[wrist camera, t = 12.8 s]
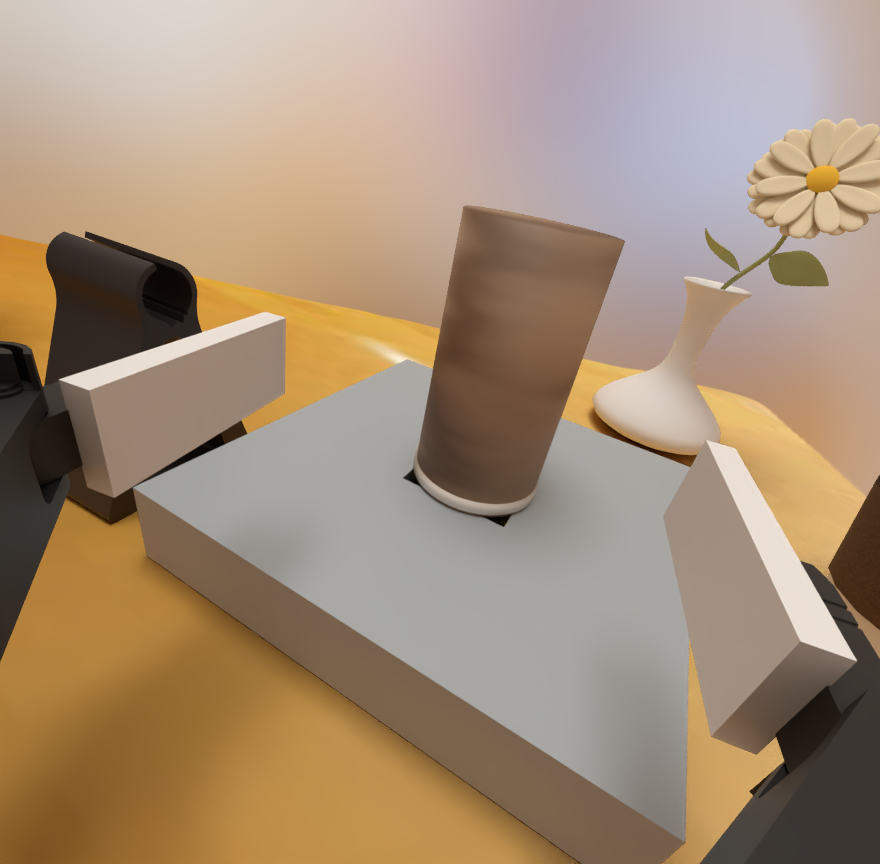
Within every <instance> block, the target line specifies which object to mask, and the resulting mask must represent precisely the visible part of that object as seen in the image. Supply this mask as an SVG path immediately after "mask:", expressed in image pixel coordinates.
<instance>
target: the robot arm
mask: <svg viewBox="0 0 880 864" xmlns="http://www.w3.org/2000/svg"><path fill="white" fill-rule="evenodd" d="M285 333H286V318H285V317H281V316H278V315H274V314H271V313H267V312H263V313H260V314H257V315H254V316H251V317H248V318H245V319H242V320H239V321H236V322H233V323H229V324H226V325H223V326H220V327H217V328H214V329H211V330H208V331H205V332H202V333H199V334H196V335H193V336H190V337H187V338H184V339H181V340H178V341H175V342H172V343H169V344H165V345H162V346H159V347H156V348H153V349H150V350H147V351H144V352H141V353H138V354H135V355H132V356H129V357H126V358H123V359H120V360H117V361H114V362H111V363H108V364H105V365H101V366H98V367H95V368H92V369H89V370H86V371H83V372H80V373H77V374H74V375H71V376H68V377H65V378H62V379H59V381H58V382H55V383H52V384H49V385H46V386H43V387H42V384H41V380H40V377H39V373H38V370H37V366H36V363H35V360H34V356H33V353H32V349H30V348H29V347H28V346H26V345H23V344H19V343H15V342H4V341H0V661H1V659H2V656H3V654H4V651H5V649H6V646H7V644H8V641H9V639H10V636H11V634H12V631H13V629H14V626H15V624H16V621H17V619H18V616H19V614H20V611H21V609H22V606H23V604H24V601H25V599H26V596H27V594H28V591H29V589H30V586H31V584H32V581H33V579H34V576H35V574H36V571H37V569H38V566H39V564H40V561H41V559H42V556H43V554H44V551H45V549H46V546H47V544H48V541H49V539H50V536H51V534H52V531H53V529H54V526H55V524H56V521H57V519H58V516H59V514H60V511H61V509H62V506H63V504H64V501H65V499H66V496H67V494H68V491H69V489H70V480H69V477H68V473H69V472H71V471H73V470H75V469H77V468H79V467H81V466H82V469H83V473H84V476H85V480H86V484H87V487H88V488H90V489H93V490H95V491H98V492H100V493H103V494H105V495H108V496H111V497H113V498H115V497H117V496H118V495H120V494H122V493H123V492H125V491H126V490H128V489H130V488H131V487H133V486H135V485H136V484H138V483H140V482H141V481H143V480H144V479H146V478H148V477H149V476H151V475H153V474H154V473H156V472H157V471H159V470H161V469H162V468H164V467H166V466H167V465H169V464H171V463H172V462H174V461H175V460H177V459H179V458H180V457H182V456H184V455H185V454H187V453H189V452H190V451H192V450H193V449H195V448H197V447H198V446H200V445H202V444H203V443H205V442H206V441H208V440H210V439H211V438H213V437H215V436H216V435H218V434H220V433H221V432H223V431H224V430H226V429H228V428H229V427H231V426H233V425H234V424H236V423H238V422H239V421H241V420H242V419H244V418H246V417H247V416H249V415H251V414H252V413H254V412H255V411H257V410H259V409H260V408H262V407H264V406H265V405H267V404H269V403H270V402H272V401H273V400H275V399H277V398H278V397H280V396H282V395H283V394H285ZM663 518H664V522H665V527H666V532H667V536H668V541H669V545H670V550H671V555H672V559H673V564H674V568H675V573H676V578H677V582H678V587H679V591H680V596H681V601H682V605H683V610H684V614H685V619H686V624H687V628H688V633H689V637H690V642H691V647H692V651H693V656H694V660H695V665H696V670H697V674H698V679H699V683H700V688H701V693H702V697H703V702H704V706H705V711H706V716H707V720H708V725H709V729H710V734H711V737H713V738H716V739H718V740H721V741H723V742H726V743H728V744H731V745H733V746H736V747H738V748H741V749H743V750H746V751H748V752H751V753H753V754H756V755H757V754H758V753H759V752H760V751H761V750H762V749H763V748H764V747H765V746H766V745H768V744H769V743H770V742H771V741H772V740H773V739H774V738H775V737H777V740H778V743H779V746H780V749H781V752H782V755H783V758H784V762H783V763H782V764H781V765H779V766H778V767H777V768H776V769H775V770H774V771H773V772H771V773H770V774H769V775H768V776H767V777H766V778H764V779H763V780H762V781H761V782H760V783H759V784H757V785H756V786H755V787H754V788H753V789H752V790H750V791H749V792H750V793H751V794H752V795H753V797H752V798H751V800H750V801H749V802H748V803H747V805H746V806H745V807H744V808H743V810H742V811H741V812H740V814H739V815H738V816H737V817H736V819H735V820H734V821H733V822H732V824H731V825H730V826H729V827H728V829H727V830H726V831H725V833H724V834H723V835H722V836H721V838H720V839H719V840H718V841H717V843H716V844H715V845H714V846H713V848H712V849H711V850H710V851H709V853H708V854H707V855H706V857H705V858H704V859H703V860H702V862H701V863H700V864H880V658H879V656H878V655H877V653H876V652H875V650H874V648H873V647H872V645H871V644H870V642H869V640H868V639H867V637H866V636H865V634H864V632H863V631H862V629H859V628H858V625H859V624H858V623H857V621H856V620H855V618H854V616H853V615H852V613H851V612H850V611H848V610H847V608H848V607H847V605H846V604H845V602H844V600H843V599H842V597H841V596H840V594H839V592H838V591H837V589H836V588H835V586H834V585H833V584H832V583H831V582H830V581H829V580H828V579H827V578H826V577H825V576H824V575H823V574H822V573H821V572H820V571H818V570H817V569H816V568H815V567H814V566H813V565H811V564H808V563H805V562H802V561H800V560H799V559H798V557H797V555H796V553H795V552H794V550H793V548H792V546H791V545H790V543H789V541H788V539H787V538H786V536H785V534H784V532H783V531H782V529H781V527H780V526H779V524H778V522H777V520H776V519H775V517H774V515H773V513H772V512H771V510H770V508H769V506H768V505H767V503H766V501H765V499H764V498H763V496H762V494H761V492H760V491H759V489H758V487H757V485H756V484H755V482H754V480H753V478H752V477H751V475H750V473H749V471H748V470H747V468H746V466H745V464H744V463H743V461H742V459H741V457H740V456H739V454H738V452H737V450H736V449H735V448H732V447H729V446H725V445H722V444H718V443H715V442H711V441H708V440H706V441H705V443H704V444H703V446H702V448H701V450H700V451H699V453H698V455H697V457H696V459H695V460H694V462H693V464H692V466H691V467H690V469H689V471H688V473H687V474H686V476H685V478H684V480H683V482H682V483H681V485H680V487H679V489H678V490H677V492H676V494H675V496H674V497H673V499H672V501H671V503H670V505H669V506H668V508H667V510H666V512H665V513H664V515H663Z"/></svg>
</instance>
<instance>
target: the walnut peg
mask: <svg viewBox="0 0 880 864" xmlns="http://www.w3.org/2000/svg"><path fill="white" fill-rule="evenodd" d="M624 243H625V241H624V240H622V239H619V238H617V237H613V236H610V235H607V234H604V233H600V232H596V231H593V230H589V229H585V228H581V227H577V226H573V225H569V224H564V223H560V222H556V221H551V220H547V219H542V218H537V217H533V216H528V215H523V214H518V213H513V212H508V211H502V210H496V209H491V208H484V207H477V206H464V207H463V212H462V218H461V223H460V228H459V233H458V239H457V244H456V249H455V255H454V261H453V265H452V271H451V276H450V281H449V287H448V292H447V298H446V303H445V308H444V313H443V319H442V325H441V329H440V335H439V340H438V345H437V351H436V356H435V361H434V367H433V372H432V377H431V383H430V388H429V393H428V398H427V404H426V409H425V414H424V420H423V425H422V430H421V436H420V441H419V445H418V447H417V449H416V452H415V457H414V463H413V469H414V473H415V476H416V478H417V480H418V482H419V484H420V485H421V487H422V488H423V489H424V490H425V491H426V492H427V493H428V494H429V495H430V496H431V497H432V498H434V499H435V500H436V501H438V502H440V503H441V504H443V505H445V506H447V507H449V508H451V509H454V510H456V511H459V512H462V513H466V514H469V515H475V516H481V517H484V518H486V519H488V520H490V521H492V522H494V523H496V524H498V523H499V520H500V517H502V516H507V515H511V514H514V513H517V512H519V511H520V510H522V509H523V508H525V507H526V506H528V505H529V504H530V503H531V501H532V500H533V498H534V496H535V493H536V491H537V488H538V484H539V476H540V474H541V471H542V468H543V465H544V463H545V460H546V457H547V454H548V452H549V449H550V446H551V443H552V441H553V438H554V435H555V432H556V430H557V427H558V424H559V421H560V419H561V416H562V413H563V410H564V408H565V405H566V402H567V399H568V397H569V394H570V391H571V388H572V386H573V383H574V380H575V377H576V375H577V372H578V369H579V366H580V364H581V361H582V358H583V355H584V353H585V350H586V347H587V344H588V342H589V339H590V336H591V333H592V330H593V328H594V325H595V322H596V320H597V317H598V314H599V311H600V309H601V306H602V303H603V300H604V297H605V295H606V292H607V289H608V287H609V284H610V281H611V278H612V276H613V273H614V270H615V268H616V265H617V262H618V259H619V257H620V254H621V251H622V248H623V246H624Z"/></svg>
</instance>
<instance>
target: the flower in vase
mask: <svg viewBox="0 0 880 864" xmlns="http://www.w3.org/2000/svg"><path fill="white" fill-rule="evenodd" d="M879 131H880V128H879V126H877V125H876V124H868V125H865V126H864V127H860V126H857V122H856V120H854V119H851V118H850V119H845V120H843V121H841V122H840V123H839V124H838V125H837V124H833V122H832V121H831V120H828V119H823V120H820V121H819V122H817V123H816V124H815V126H814V128H813V130H812V131H810V130H807V129H804V130H801V131H800V130H797V129H792V130H790V131H788V132H787V133H786V134H785V137H784V139H782V140H780V141H777V142H775V143H773V144H772V145H771V147H770V152H769V153H766V154H764V156H763V157H762V159H761V160H758V161H757V162H756V163H755V164H754V171H751V172H750V173H749V174H748V176H747V180H748V182H749V183H750V184H752V185H753V186H751V187H750V188H749V189H748V195H749V197H751V198H753V199H755V200H753V201H752V202H751V203H750V204H749V206H748V209H749V211H750V212H751V213H753V214H756V215H757V216H758V217H759V218H762V219H764V223H765V224H766V225H767V226H769V227H776V226H778V225H779V226H780V233H781V234H783V236H782V238H781V239H780V241H779V242H778V243H777V244H776V246H775V247H774V248H773V249H772V250H771V251H770V252H769V253H767V254H766V255H765V256H763V257H762V258H761V259H759V260H758V261H757V262H755V263H753V264H752V265H751V266H749V267H747V268H746V269H744V270H743V271H741V272H740V271H739V266H738V263H737V261H736V259H735V257H734V256H733V254H732V253H731V252H730V251H728V250H727V249H726V248H724V247H723V246H721V245H720V244H718V243H717V242H716V241H715V240H714V239H712V237H711V236H710V235H709V233H708V231H707V230H705V235H706V240H707V243H708V245H709V247H710V248H711V250H712V251H713V252H714V253H715V254H716V255H717V256H718V257H719V258H720V259H722V260H723V261H724V262H726V263H727V264H728V265H730V266H731V267H732V268H734V269H735V270H737V271H739V272H740V273H738V274H737V275H736V276H734V277H733V278H732V279H730V280H729V281H728V282H727V283H725V284H723V283H719V282H715V281H711V280H706V279H701V278H696V277H684V281H685V284H686V289H687V305H686V310H685V314H684V318H683V322H682V324H681V327H680V331H679V333H678V335H677V338H676V340H675V343H674V345H673V346H672V348H671V351H670V352H669V354H668V355H667V357H666V358H665V360H664V361H663V362H662V363H661V364H659V365H658V366H657V367H655V368H653V369H651V370H648V371H645V372H643V373H639V374H636V375H632V376H629V377H626V378H623V379H620V380H616V381H614V382H611V383H609V384H607V385H605V386H603V387H601V388H600V389H599V390H598V392H597V393H596V394H595V395H594V396H593V404H594V408H595V411H596V413H597V414H598V416H599V417H600V418H601V419H602V420H603V421H604V422H605V423H606V424H608V425H609V426H610V427H612V428H613V429H614V430H616V431H617V432H619V433H620V434H622V435H623V436H625V437H627V438H629V439H631V440H633V441H635V442H637V443H640V444H642V445H645V446H647V447H650V448H653V449H657V450H661V451H665V452H670V453H675V454H682V455H698V453H699V451H700V450H701V448H702V446H703V444H704V443H705V441H706V440H708V441H711V442H715V443H718V444H719V442H720V429H719V426H718V424H717V421H716V418H715V417H714V415H713V413H712V411H711V410H710V408H709V406H708V404H707V403H706V401H705V400H704V398H703V396H702V395H701V393H700V391H699V389H698V388H697V386H696V383H695V380H694V369H695V366H696V362H697V360H698V357H699V355H700V353H701V351H702V349H703V347H704V346H705V344H706V342H707V340H708V338H709V337H710V335H711V334H712V332H713V331H714V329H715V328H716V326H717V325H718V324H719V323H720V321H721V320H722V319H723V317H724V316H725V315H726V314H727V313H728V312H729V311H730V310H731V309H732V308H734V307H735V306H736V305H738V304H739V303H740V302H742V301H744V300H745V299H747V298H749V297H750V296H751V295H752V294H751V293H750V292H748V291H745V290H743V289H739V288H737V287H734V286H730V285H731V284H732V283H733V282H735V281H736V280H738V279H739V278H740V277H742V276H743V275H745V274H746V273H748V272H749V271H751V270H752V269H754V268H755V267H757V266H758V265H760V264H761V263H762V262H764V261H765V260H767V259H768V258H769V257H770V259H769V267H770V270H771V273H772V275H773V278H774V280H775V281H776V282H778V283H780V284H784V285H791V286H828V285H829V283H828V279H827V275H826V273H825V270H824V268H823V266H822V265H821V263H820V262H819V261H818V259H817V258H816V257H814V256H813V255H812V254H811V253H809V252H806V251H792V252H784V253H778V254H775V255H773V254H774V253H775V252H776V251H777V250H778V249H779V248H780V247H781V245H782V244H783V243H784V241H785V240H786V238H787V237H788V236H791V237H793V238H802V237H804V238H807V239H811V238H814V237H815V236H816V235H818V233H819V232H820V231H821V232H824V233H828V234H830V235H840V234H843V233H844V232H845V231H848V232H853V231H857V230H859V229H860V228H861V227H862V226H863V225H865V224H866V223H867V222H868V215H867V214H873V213H874V214H875V213H878V212H880V136H879V135H878V134H879ZM866 213H867V214H866ZM772 255H773V256H772Z"/></svg>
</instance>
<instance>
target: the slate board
mask: <svg viewBox="0 0 880 864" xmlns="http://www.w3.org/2000/svg"><path fill="white" fill-rule="evenodd" d="M432 372H433V369H431V368H429V367H426V366H423V365H421V364H418V363H416V362H413V361H410V360H408V359H407V360H405V361H403V362H401V363H399V364H397V365H394V366H392V367H390V368H388V369H386V370H384V371H382V372H379V373H377V374H375V375H373V376H371V377H369V378H367V379H364V380H362V381H360V382H358V383H356V384H354V385H352V386H349V387H347V388H345V389H343V390H341V391H339V392H336V393H334V394H332V395H330V396H328V397H326V398H324V399H321V400H319V401H317V402H315V403H313V404H311V405H309V406H306V407H304V408H302V409H300V410H298V411H296V412H294V413H291V414H289V415H287V416H285V417H283V418H281V419H279V420H276V421H274V422H272V423H270V424H268V425H266V426H264V427H261V428H259V429H257V430H255V431H253V432H251V433H249V434H246V435H244V436H242V437H240V438H238V439H236V440H233V441H231V442H229V443H227V444H225V445H223V446H221V447H218V448H216V449H214V450H212V451H210V452H208V453H206V454H203V455H201V456H199V457H197V458H195V459H193V460H191V461H188V462H186V463H184V464H182V465H180V466H178V467H176V468H173V469H171V470H169V471H167V472H165V473H163V474H161V475H158V476H156V477H154V478H152V479H150V480H148V481H145V482H143V483H141V484H139V485H137V486H135V487H133V491H134V496H135V501H136V506H137V511H138V516H139V521H140V525H141V530H142V535H143V540H144V545H145V550H146V555H147V556H148V557H149V558H151V559H152V560H153V561H155V562H156V563H158V564H159V565H160V566H162V567H163V568H165V569H166V570H168V571H169V572H170V573H172V574H173V575H175V576H176V577H177V578H179V579H180V580H182V581H183V582H184V583H186V584H187V585H189V586H190V587H192V588H193V589H194V590H196V591H197V592H199V593H200V594H201V595H203V596H204V597H206V598H207V599H208V600H210V601H211V602H213V603H214V604H216V605H217V606H218V607H220V608H221V609H223V610H224V611H225V612H227V613H228V614H230V615H231V616H232V617H234V618H235V619H237V620H238V621H239V622H241V623H242V624H244V625H245V626H247V627H248V628H249V629H251V630H252V631H254V632H255V633H256V634H258V635H259V636H261V637H262V638H263V639H265V640H266V641H268V642H269V643H271V644H272V645H273V646H275V647H276V648H278V649H279V650H280V651H282V652H283V653H285V654H286V655H287V656H289V657H290V658H292V659H293V660H295V661H296V662H297V663H299V664H300V665H302V666H303V667H304V668H306V669H307V670H309V671H310V672H311V673H313V674H314V675H316V676H317V677H319V678H320V679H321V680H323V681H324V682H326V683H327V684H328V685H330V686H331V687H333V688H334V689H335V690H337V691H338V692H340V693H341V694H343V695H344V696H345V697H347V698H348V699H350V700H351V701H352V702H354V703H355V704H357V705H358V706H359V707H361V708H362V709H364V710H365V711H367V712H368V713H369V714H371V715H372V716H374V717H375V718H376V719H378V720H379V721H381V722H382V723H383V724H385V725H386V726H388V727H389V728H391V729H392V730H393V731H395V732H396V733H398V734H399V735H400V736H402V737H403V738H405V739H406V740H407V741H409V742H410V743H412V744H413V745H414V746H416V747H417V748H419V749H420V750H422V751H423V752H424V753H426V754H427V755H429V756H430V757H431V758H433V759H434V760H436V761H437V762H438V763H440V764H441V765H443V766H444V767H446V768H447V769H448V770H450V771H451V772H453V773H454V774H455V775H457V776H458V777H460V778H461V779H462V780H464V781H465V782H467V783H468V784H470V785H471V786H472V787H474V788H475V789H477V790H478V791H479V792H481V793H482V794H484V795H485V796H486V797H488V798H489V799H491V800H492V801H494V802H495V803H496V804H498V805H499V806H501V807H502V808H503V809H505V810H506V811H508V812H509V813H510V814H512V815H513V816H515V817H516V818H518V819H519V820H520V821H522V822H523V823H525V824H526V825H527V826H529V827H530V828H532V829H533V830H534V831H536V832H537V833H539V834H540V835H542V836H543V837H544V838H546V839H547V840H549V841H550V842H551V843H553V844H554V845H556V846H557V847H558V848H560V849H561V850H563V851H564V852H565V853H567V854H568V855H570V856H571V857H573V858H574V859H575V860H577V861H578V862H580V863H581V864H661V863H662V862H664V861H665V860H666V859H667V858H668V857H669V856H670V855H672V854H673V853H674V852H675V851H676V850H677V849H679V848H680V847H681V846H682V845H683V844H684V843H685V830H686V776H687V722H688V668H689V633H688V628H687V624H686V619H685V614H684V610H683V605H682V601H681V596H680V591H679V587H678V582H677V578H676V573H675V568H674V564H673V559H672V555H671V550H670V545H669V541H668V536H667V532H666V527H665V522H664V518H663V515H664V513H665V512H666V510H667V508H668V506H669V505H670V503H671V501H672V499H673V497H674V496H675V494H676V492H677V490H678V489H679V487H680V485H681V483H682V482H683V480H684V478H685V476H686V474H687V473H688V471H689V469H690V467H688V466H686V465H683V464H681V463H678V462H675V461H673V460H670V459H667V458H665V457H662V456H660V455H657V454H654V453H652V452H649V451H646V450H644V449H641V448H639V447H636V446H633V445H631V444H628V443H625V442H623V441H620V440H618V439H615V438H612V437H610V436H607V435H604V434H602V433H599V432H597V431H594V430H591V429H589V428H586V427H583V426H581V425H578V424H576V423H573V422H570V421H568V420H565V419H562V418H561V419H560V421H559V424H558V427H557V430H556V432H555V435H554V438H553V441H552V443H551V446H550V449H549V452H548V454H547V457H546V460H545V463H544V465H543V468H542V471H541V474H540V476H539V484H538V488H537V491H536V493H535V496H534V498H533V500H532V501H531V503H530V504H529V505H528V506H526V507H525V508H523V509H522V510H520V511H519V512H517V513H514V514H511V515H507V516H502V517H501V518H504V519H506V520H508V522H507V523H506V525H505V526H504V527H502V526H500V525H498V524H496V523H494V522H492V521H490V520H488V519H486V518H484V517H481V516H475V515H469V514H466V513H462V512H459V511H456V510H454V509H451V508H449V507H447V506H445V505H443V504H441V503H440V502H438V501H436V500H435V499H434V498H432V497H431V496H430V495H429V494H428V493H427V492H426V491H425V490H424V489H423V488H422V487H421V485H420V484H419V482H418V480H417V478H416V476H415V473H414V469H413V463H414V457H415V452H416V449H417V447H418V445H419V441H420V436H421V430H422V425H423V420H424V414H425V409H426V404H427V398H428V393H429V388H430V383H431V377H432Z"/></svg>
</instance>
